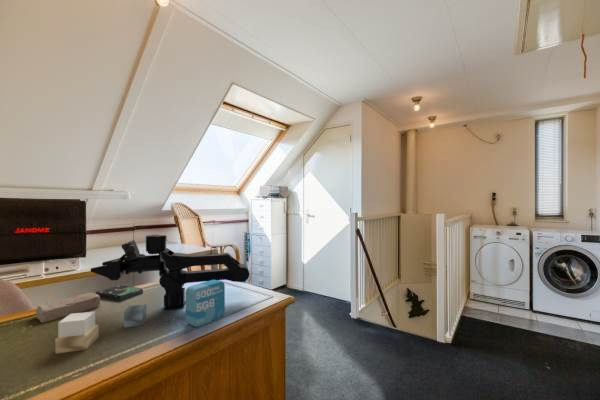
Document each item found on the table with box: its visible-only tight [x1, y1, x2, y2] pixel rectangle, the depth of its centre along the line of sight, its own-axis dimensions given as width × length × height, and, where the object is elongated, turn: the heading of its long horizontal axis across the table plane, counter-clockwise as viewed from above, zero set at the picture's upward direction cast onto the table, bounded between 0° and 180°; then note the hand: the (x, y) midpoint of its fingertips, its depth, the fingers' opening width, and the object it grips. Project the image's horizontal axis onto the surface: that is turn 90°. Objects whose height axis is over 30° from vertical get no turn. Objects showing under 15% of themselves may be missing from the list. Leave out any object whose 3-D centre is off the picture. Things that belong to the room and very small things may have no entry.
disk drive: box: [95, 284, 144, 302], centre depth 117 cm, size 10×3×15 cm
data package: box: [185, 280, 226, 328], centre depth 91 cm, size 12×4×12 cm, turn 144°
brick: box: [35, 292, 101, 323], centre depth 100 cm, size 17×8×5 cm, turn 145°
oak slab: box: [54, 323, 100, 355], centre depth 76 cm, size 7×7×4 cm
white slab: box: [57, 310, 96, 338], centre depth 76 cm, size 6×6×4 cm
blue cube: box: [123, 304, 147, 328], centre depth 90 cm, size 5×5×5 cm
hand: (97, 266), depth 97 cm, fingers open, 9 cm apart
